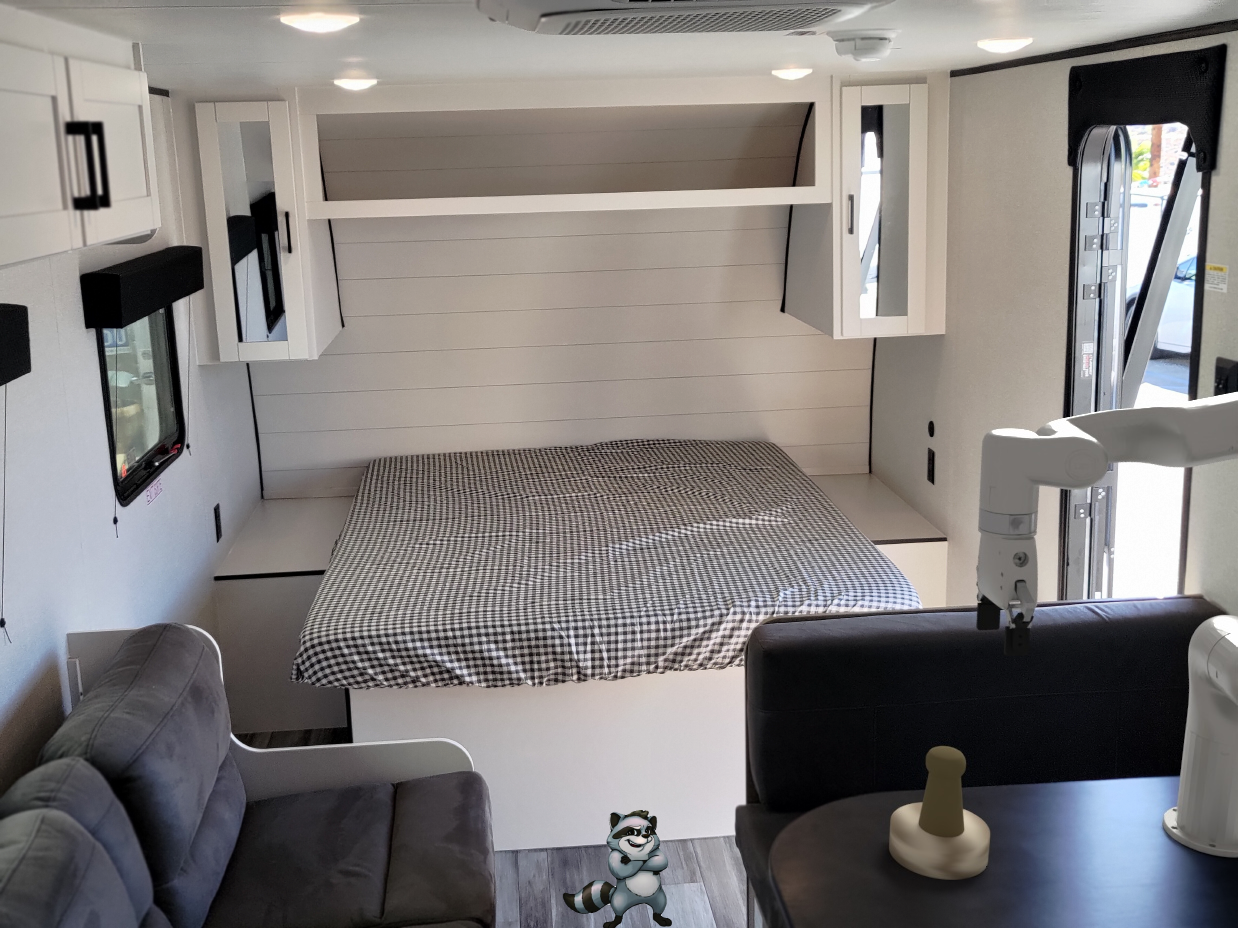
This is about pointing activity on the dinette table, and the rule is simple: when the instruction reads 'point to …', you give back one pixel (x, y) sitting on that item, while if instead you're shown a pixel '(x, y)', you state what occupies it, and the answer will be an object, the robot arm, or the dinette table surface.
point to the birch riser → (938, 846)
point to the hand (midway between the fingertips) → (1001, 641)
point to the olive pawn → (943, 793)
